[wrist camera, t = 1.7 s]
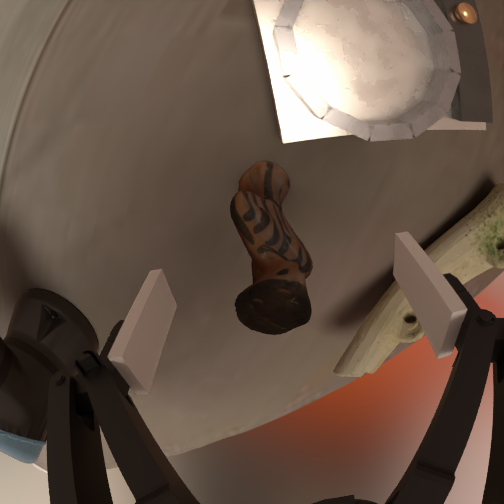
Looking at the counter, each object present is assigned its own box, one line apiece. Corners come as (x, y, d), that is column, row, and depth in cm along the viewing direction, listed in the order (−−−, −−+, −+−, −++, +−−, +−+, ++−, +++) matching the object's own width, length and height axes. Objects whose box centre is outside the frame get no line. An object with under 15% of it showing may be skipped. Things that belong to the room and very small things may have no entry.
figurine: (312, 200, 29) (369, 337, 13) (274, 232, 31) (288, 384, 15) (259, 145, 26) (262, 234, 11) (220, 181, 28) (175, 308, 12)
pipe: (487, 168, 26) (545, 201, 17) (507, 215, 28) (554, 254, 20) (318, 318, 36) (331, 383, 28) (355, 346, 39) (371, 405, 30)
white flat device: (279, 138, 26) (286, 152, 20) (249, -7, 19) (246, -34, 13) (463, 124, 24) (502, 137, 18) (444, -2, 17) (480, -13, 11)
